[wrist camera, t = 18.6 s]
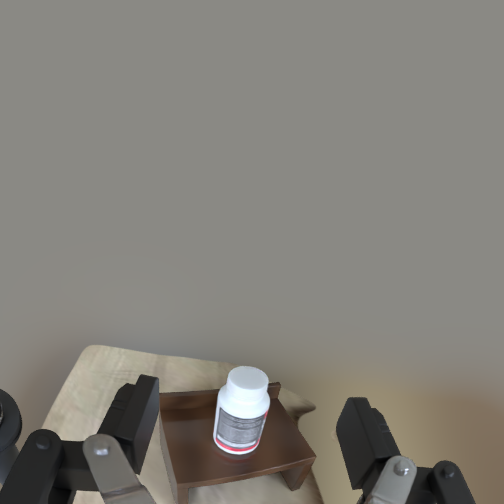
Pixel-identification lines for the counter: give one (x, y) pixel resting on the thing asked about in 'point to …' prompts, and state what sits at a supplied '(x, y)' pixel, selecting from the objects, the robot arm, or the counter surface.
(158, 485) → the counter surface
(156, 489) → the counter surface
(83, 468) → the robot arm
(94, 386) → the counter surface
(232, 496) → the counter surface
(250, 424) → the pill bottle
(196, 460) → the spice shelf
